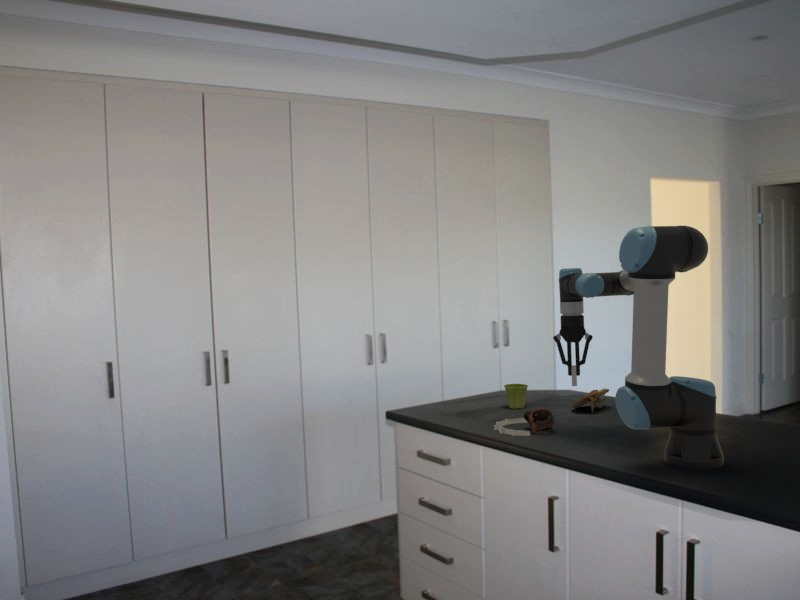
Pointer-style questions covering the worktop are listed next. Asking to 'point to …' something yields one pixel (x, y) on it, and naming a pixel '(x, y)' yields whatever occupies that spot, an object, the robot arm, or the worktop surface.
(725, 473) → the worktop surface
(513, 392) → the plant pot
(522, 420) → the grey u-shaped piece
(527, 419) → the pottery mug
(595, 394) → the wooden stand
